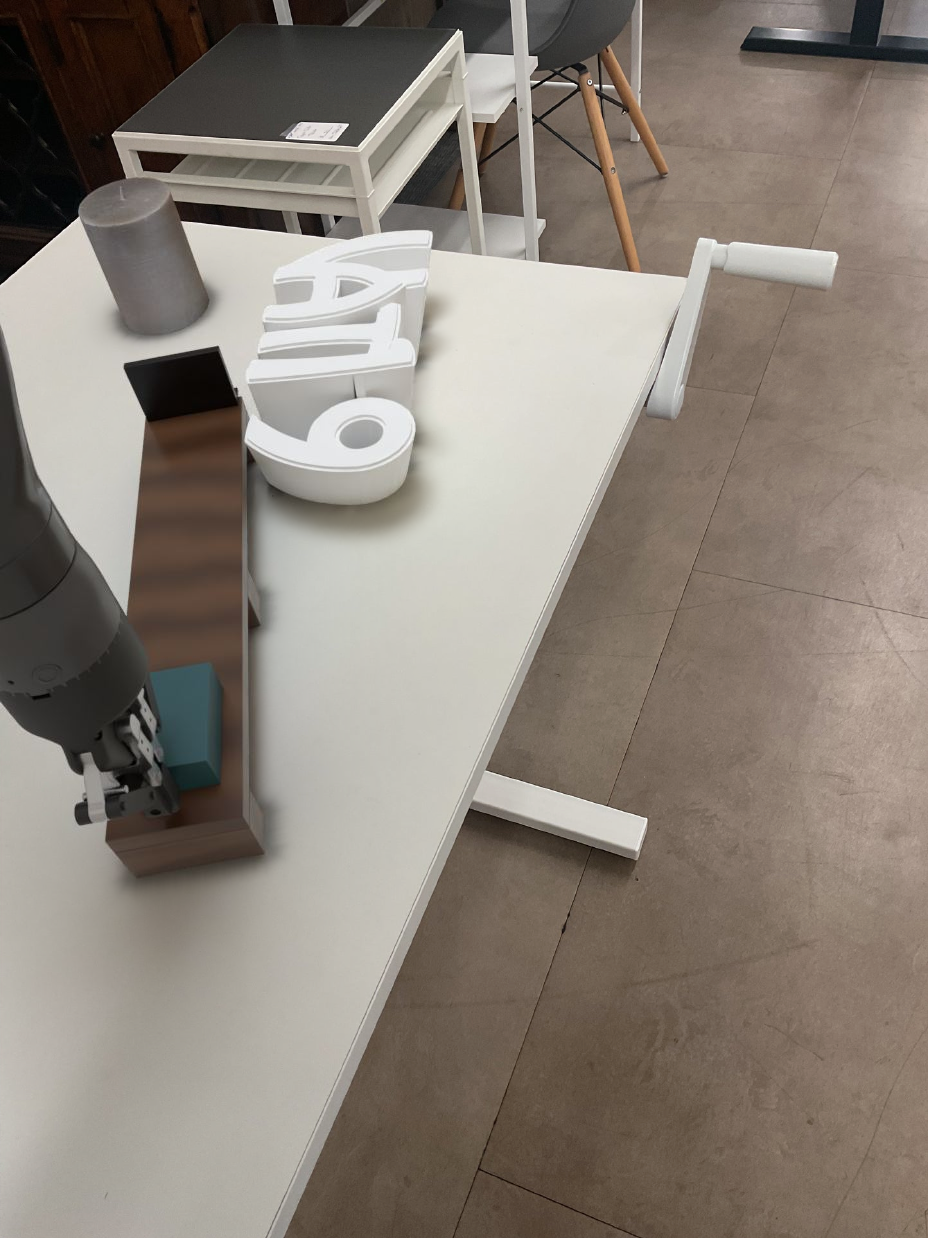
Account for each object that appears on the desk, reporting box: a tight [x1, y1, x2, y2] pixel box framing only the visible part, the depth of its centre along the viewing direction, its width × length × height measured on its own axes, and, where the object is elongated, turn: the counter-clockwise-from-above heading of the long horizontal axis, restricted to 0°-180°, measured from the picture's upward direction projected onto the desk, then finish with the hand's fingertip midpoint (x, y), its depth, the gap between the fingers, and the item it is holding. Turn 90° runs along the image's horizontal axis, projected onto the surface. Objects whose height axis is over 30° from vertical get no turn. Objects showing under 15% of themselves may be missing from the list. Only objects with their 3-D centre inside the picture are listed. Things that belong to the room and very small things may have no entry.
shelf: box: [104, 395, 266, 879], centre depth 81 cm, size 44×9×6 cm, turn 8°
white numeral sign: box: [245, 229, 434, 506], centre depth 95 cm, size 35×16×11 cm, turn 175°
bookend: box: [123, 345, 239, 422], centre depth 90 cm, size 2×8×6 cm, turn 98°
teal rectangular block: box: [149, 662, 223, 791], centre depth 68 cm, size 8×6×3 cm
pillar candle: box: [77, 176, 210, 337], centre depth 108 cm, size 10×10×15 cm
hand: (165, 805), depth 64 cm, fingers closed
